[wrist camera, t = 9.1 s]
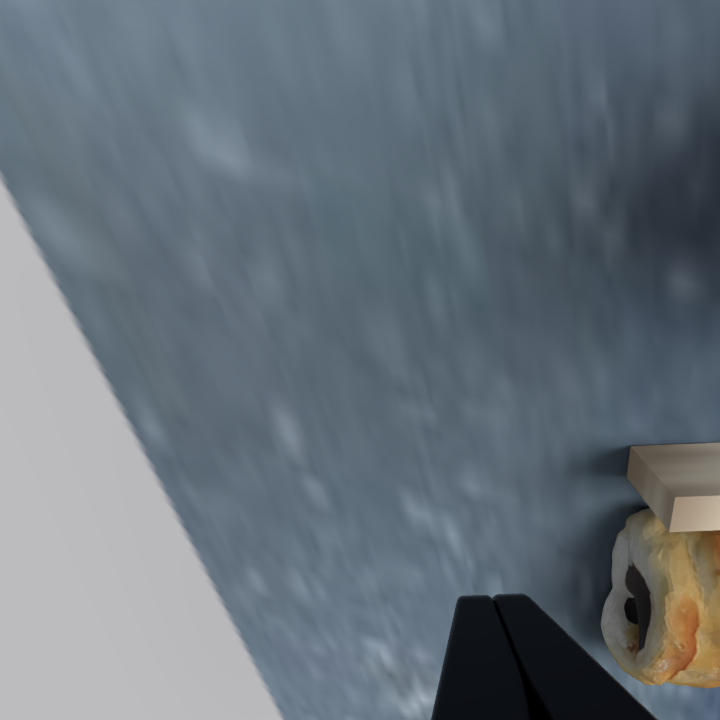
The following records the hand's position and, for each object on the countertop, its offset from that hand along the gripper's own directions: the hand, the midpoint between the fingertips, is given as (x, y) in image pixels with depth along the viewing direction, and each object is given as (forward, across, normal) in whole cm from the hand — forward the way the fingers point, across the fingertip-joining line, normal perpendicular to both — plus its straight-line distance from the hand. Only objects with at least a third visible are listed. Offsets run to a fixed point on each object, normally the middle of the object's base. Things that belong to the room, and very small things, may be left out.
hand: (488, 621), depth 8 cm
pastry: (+12, -11, +10) cm, 19 cm away
